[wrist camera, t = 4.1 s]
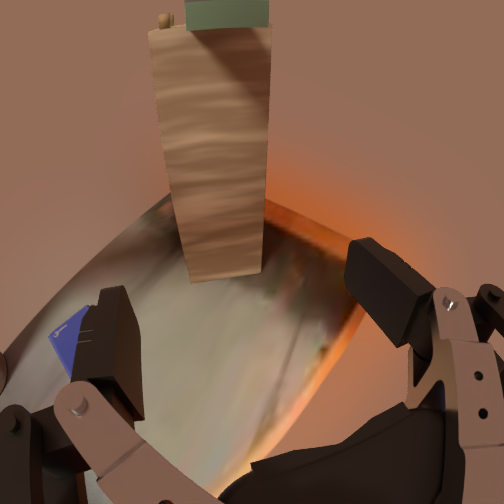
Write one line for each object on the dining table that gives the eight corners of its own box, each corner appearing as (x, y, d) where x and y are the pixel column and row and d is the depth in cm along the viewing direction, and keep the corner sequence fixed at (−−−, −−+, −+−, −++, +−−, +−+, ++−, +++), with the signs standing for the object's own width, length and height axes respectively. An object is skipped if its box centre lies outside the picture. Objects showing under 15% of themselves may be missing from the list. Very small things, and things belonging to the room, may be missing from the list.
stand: (260, 272, 42) (272, 8, 17) (191, 283, 40) (147, 16, 15) (242, 211, 51) (241, 10, 26) (185, 218, 49) (160, 17, 25)
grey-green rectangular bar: (268, 27, 11) (270, -48, 8) (186, 31, 10) (184, -48, 7) (219, 21, 26) (219, -12, 22) (185, 24, 25) (184, -9, 22)
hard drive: (47, 335, 32) (85, 404, 26) (87, 303, 36) (133, 366, 30) (52, 340, 33) (91, 407, 27) (91, 309, 37) (137, 370, 32)
